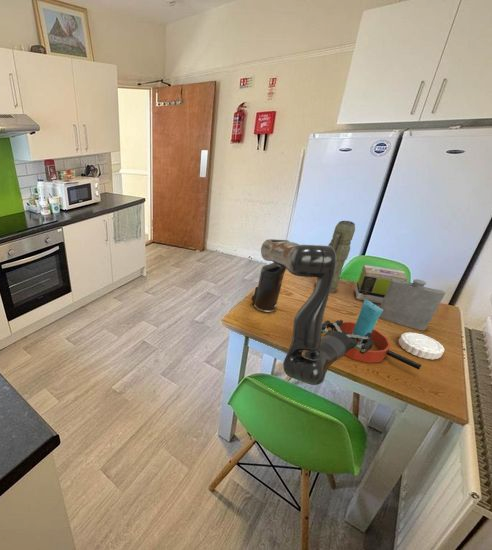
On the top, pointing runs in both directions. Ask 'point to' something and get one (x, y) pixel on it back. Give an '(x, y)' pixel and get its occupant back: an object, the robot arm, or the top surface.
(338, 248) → the thermos
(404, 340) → the mooncake
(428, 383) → the top surface
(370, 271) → the tea box
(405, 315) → the hip flask
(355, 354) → the pan
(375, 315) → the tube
